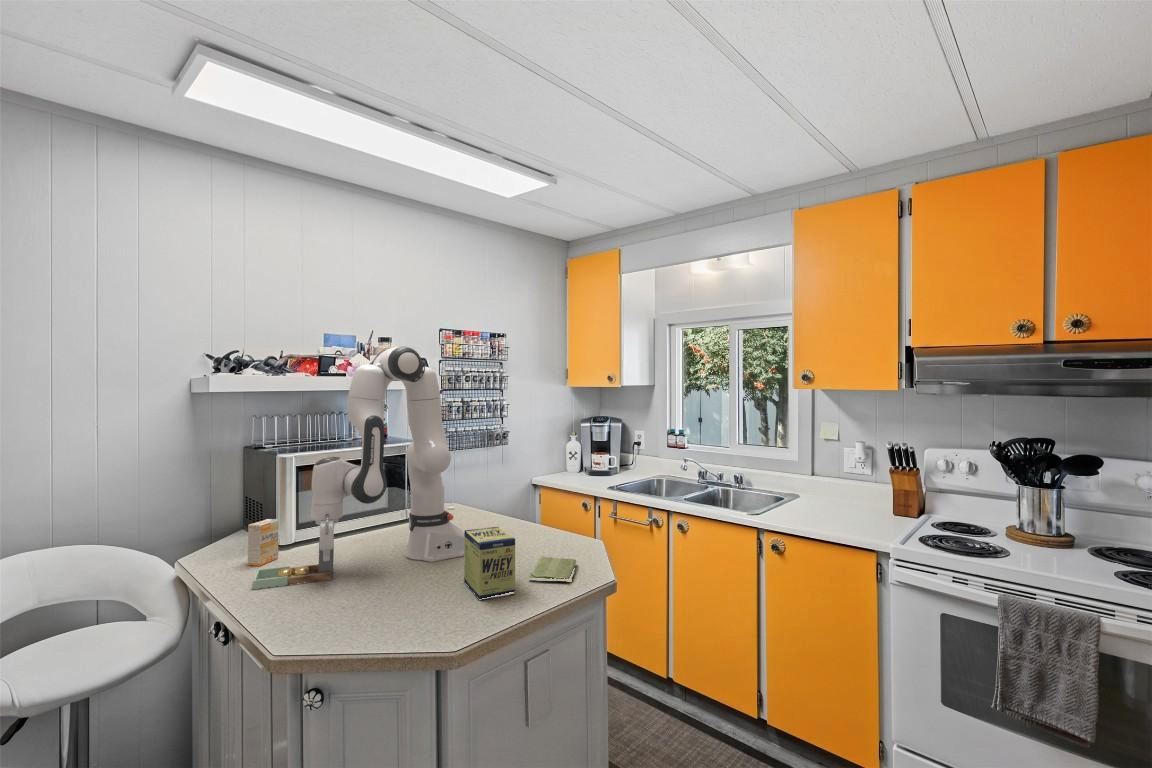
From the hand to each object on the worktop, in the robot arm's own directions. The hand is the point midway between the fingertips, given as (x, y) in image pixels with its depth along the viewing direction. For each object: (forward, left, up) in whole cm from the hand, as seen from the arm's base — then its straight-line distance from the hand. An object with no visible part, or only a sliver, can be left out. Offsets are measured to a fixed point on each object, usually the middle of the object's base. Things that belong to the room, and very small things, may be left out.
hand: (326, 557), depth 167 cm
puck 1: (+11, 0, -6) cm, 13 cm away
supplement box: (+19, -21, -6) cm, 29 cm away
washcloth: (-64, +26, -6) cm, 69 cm away
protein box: (-42, +30, -6) cm, 52 cm away
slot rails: (+4, 0, -5) cm, 7 cm away
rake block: (0, 0, -4) cm, 4 cm away
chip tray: (+14, 0, -5) cm, 15 cm away
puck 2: (+7, 0, -6) cm, 9 cm away
